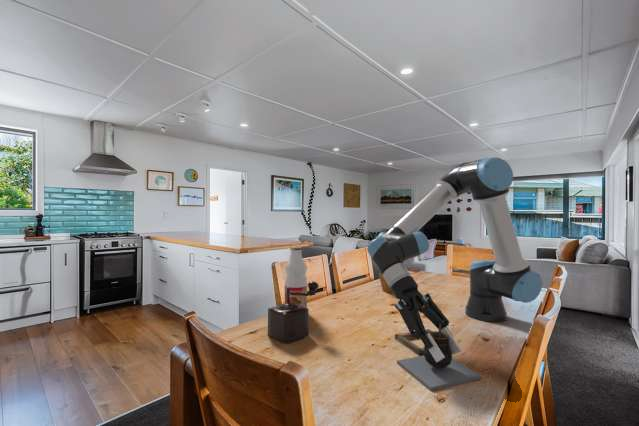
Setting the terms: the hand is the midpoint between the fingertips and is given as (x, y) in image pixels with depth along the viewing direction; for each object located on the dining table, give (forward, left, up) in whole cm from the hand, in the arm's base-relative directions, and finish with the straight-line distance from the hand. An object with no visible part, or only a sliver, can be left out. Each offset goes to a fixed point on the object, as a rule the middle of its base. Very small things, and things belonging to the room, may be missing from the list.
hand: (449, 355), depth 79 cm
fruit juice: (+25, -60, -6) cm, 66 cm away
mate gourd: (+1, -3, -4) cm, 5 cm away
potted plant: (-33, -79, -6) cm, 86 cm away
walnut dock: (-7, -18, -5) cm, 20 cm away
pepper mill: (+31, -40, -6) cm, 51 cm away
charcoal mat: (+1, -3, -5) cm, 6 cm away
